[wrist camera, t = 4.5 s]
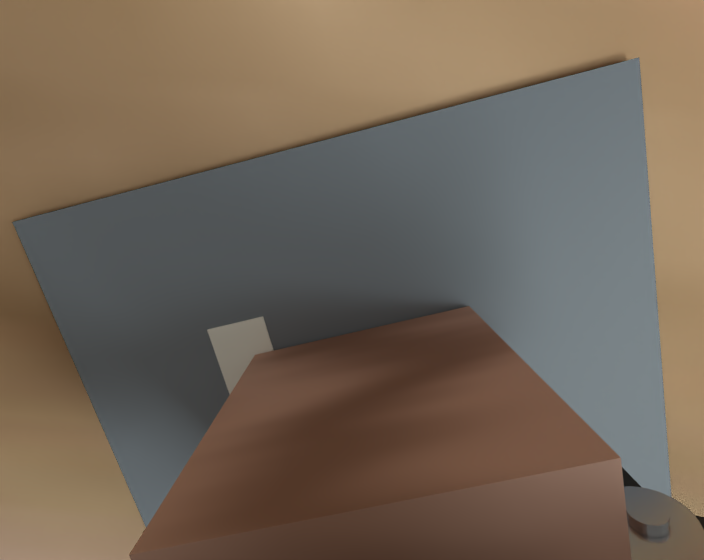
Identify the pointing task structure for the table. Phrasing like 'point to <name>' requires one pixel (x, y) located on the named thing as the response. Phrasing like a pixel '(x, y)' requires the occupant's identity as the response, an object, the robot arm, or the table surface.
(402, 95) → the table surface
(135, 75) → the table surface
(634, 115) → the letter card
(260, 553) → the painted cube
